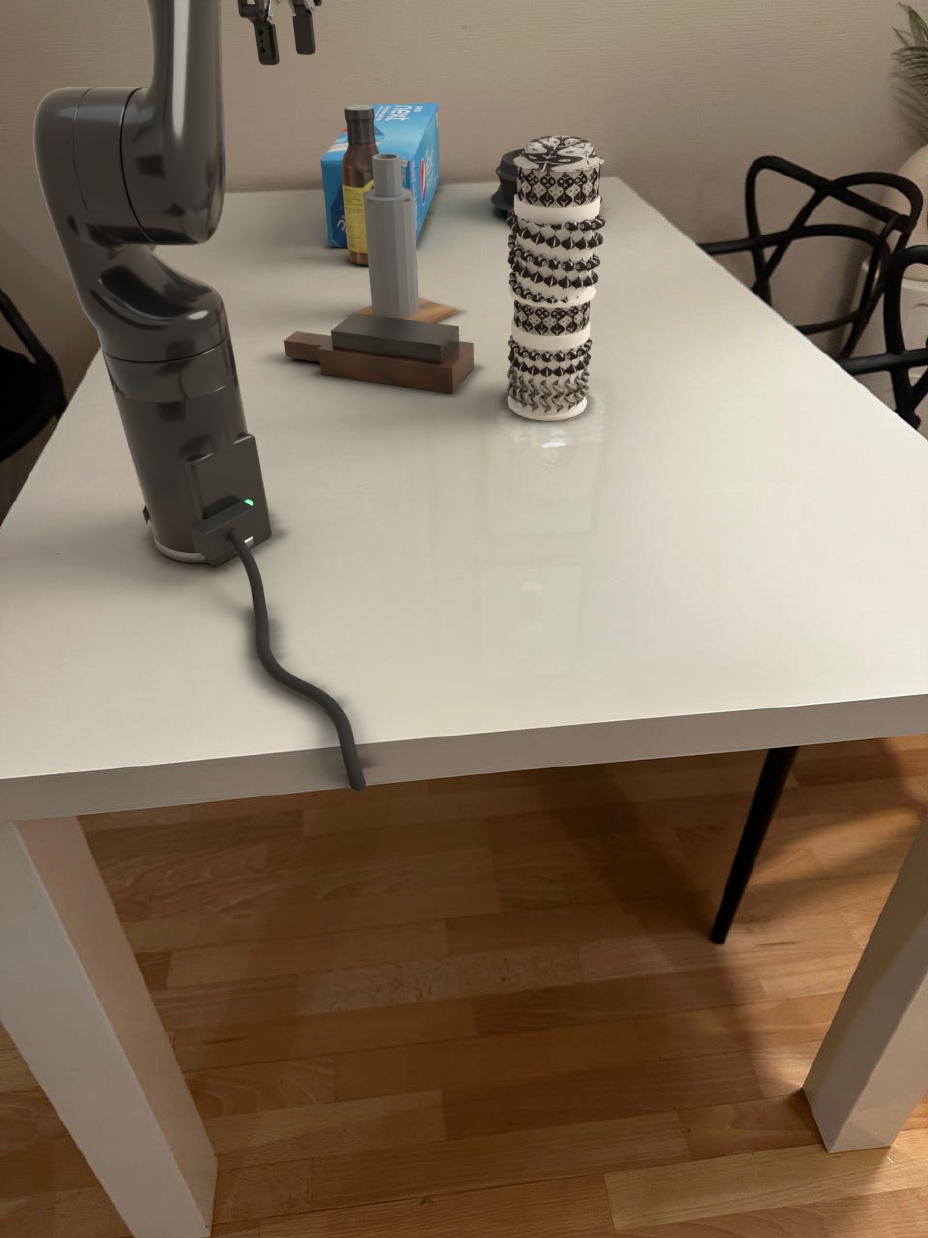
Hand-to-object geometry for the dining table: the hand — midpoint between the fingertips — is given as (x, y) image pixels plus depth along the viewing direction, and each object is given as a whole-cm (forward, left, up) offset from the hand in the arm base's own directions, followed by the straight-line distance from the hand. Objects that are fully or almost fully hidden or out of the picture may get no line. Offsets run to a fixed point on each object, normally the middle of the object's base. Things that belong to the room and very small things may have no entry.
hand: (288, 59), depth 101 cm
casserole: (+2, -53, -28) cm, 60 cm away
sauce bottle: (+7, -17, -28) cm, 34 cm away
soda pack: (+22, -37, -28) cm, 52 cm away
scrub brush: (-20, +10, -28) cm, 36 cm away
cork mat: (-12, -4, -28) cm, 30 cm away
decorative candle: (-41, +5, -28) cm, 50 cm away
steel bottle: (-10, -4, -27) cm, 30 cm away
